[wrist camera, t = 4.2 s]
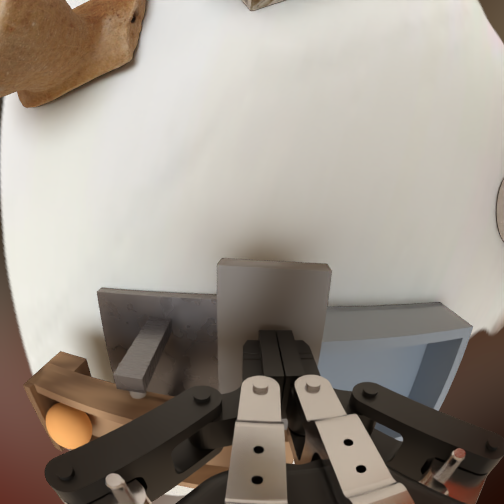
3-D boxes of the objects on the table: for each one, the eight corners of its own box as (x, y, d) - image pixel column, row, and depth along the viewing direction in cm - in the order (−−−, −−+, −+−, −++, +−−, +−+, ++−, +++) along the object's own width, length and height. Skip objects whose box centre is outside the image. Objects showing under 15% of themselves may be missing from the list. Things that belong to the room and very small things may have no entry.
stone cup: (25, 139, 21) (-91, 133, 6) (28, 45, 18) (-59, 6, 3) (160, 85, 20) (68, -8, 6) (152, -11, 18) (99, -108, 3)
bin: (439, 302, 26) (473, 326, 20) (405, 403, 29) (425, 434, 23) (293, 307, 25) (307, 342, 19) (280, 418, 28) (286, 459, 23)
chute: (319, 250, 16) (339, 283, 11) (288, 455, 21) (288, 506, 15) (38, 236, 18) (-14, 254, 12) (84, 417, 22) (58, 452, 17)
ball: (93, 405, 17) (59, 434, 13) (107, 438, 18) (78, 466, 14) (62, 386, 18) (29, 408, 14) (76, 419, 19) (47, 441, 15)
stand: (230, 295, 25) (222, 359, 15) (230, 424, 28) (227, 493, 19) (101, 287, 24) (45, 336, 15) (128, 413, 28) (103, 473, 19)
